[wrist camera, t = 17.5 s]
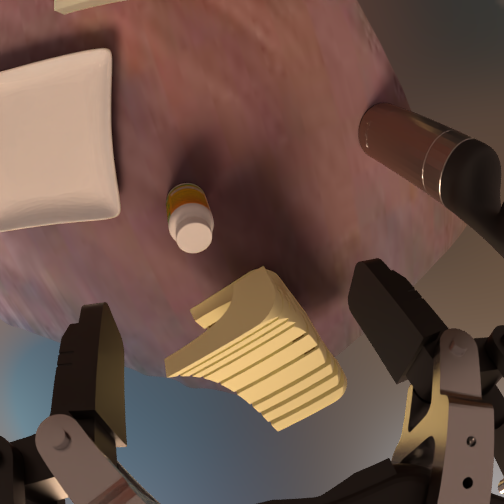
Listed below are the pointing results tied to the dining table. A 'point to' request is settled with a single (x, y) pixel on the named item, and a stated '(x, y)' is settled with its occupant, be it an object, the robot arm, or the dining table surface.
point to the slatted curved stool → (262, 350)
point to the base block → (78, 5)
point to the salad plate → (57, 142)
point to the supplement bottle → (189, 217)
